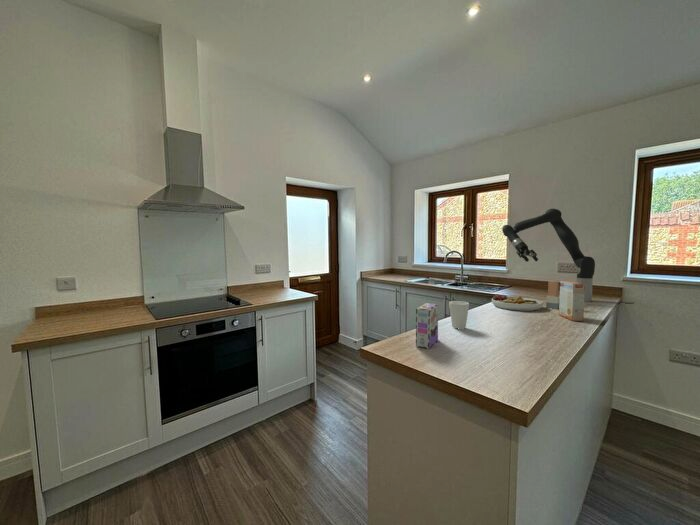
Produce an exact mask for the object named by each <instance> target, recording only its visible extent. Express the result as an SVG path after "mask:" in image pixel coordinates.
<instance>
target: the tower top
mask: <svg viewBox="0 0 700 525" xmlns="http://www.w3.org/2000/svg"><path fill="white" fill-rule="evenodd" d="M546 302H549V303H559V302H560V295H558V297H550V296H548V295H546Z"/></svg>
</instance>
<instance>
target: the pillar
mask: <svg viewBox="0 0 700 525" xmlns="http://www.w3.org/2000/svg"><path fill="white" fill-rule="evenodd" d="M547 283H548V284H547V285H548V286H547V296H550V297H558V296H559V286H560V281H558V280H549V281H548V282H547Z"/></svg>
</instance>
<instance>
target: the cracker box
mask: <svg viewBox="0 0 700 525" xmlns="http://www.w3.org/2000/svg"><path fill="white" fill-rule="evenodd" d="M584 289H585V284H582V283H578V282H577V281H572V280H560V281H559V296H560V303H559V309H558V310H559V311H558V315H559V316H560V317H563V318H565V319H567V320H570V321H572V322H584V312H585V311H584V307H585V302H584Z"/></svg>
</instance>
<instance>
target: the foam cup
mask: <svg viewBox="0 0 700 525" xmlns="http://www.w3.org/2000/svg"><path fill="white" fill-rule="evenodd" d="M448 303H449V304H448V307H449V314H450V319H451V327H454V328H459V329H463V330H465V329H466V328H467V320H468V316H469V308H470V303H469V302H468V301H462V300H452V301H448ZM454 328H453V329H454ZM464 328H465V329H464ZM459 329H458V330H459Z"/></svg>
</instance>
